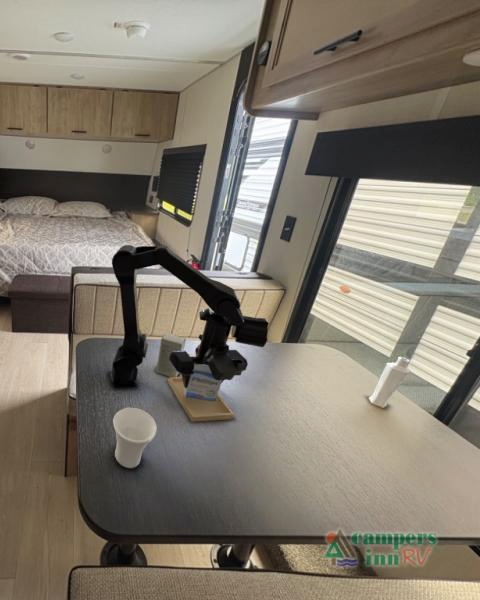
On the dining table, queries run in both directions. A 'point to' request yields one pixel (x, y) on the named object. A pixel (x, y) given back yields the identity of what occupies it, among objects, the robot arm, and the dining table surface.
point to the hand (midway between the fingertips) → (200, 386)
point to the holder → (200, 404)
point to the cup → (132, 435)
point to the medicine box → (202, 384)
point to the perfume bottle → (390, 381)
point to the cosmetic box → (166, 347)
